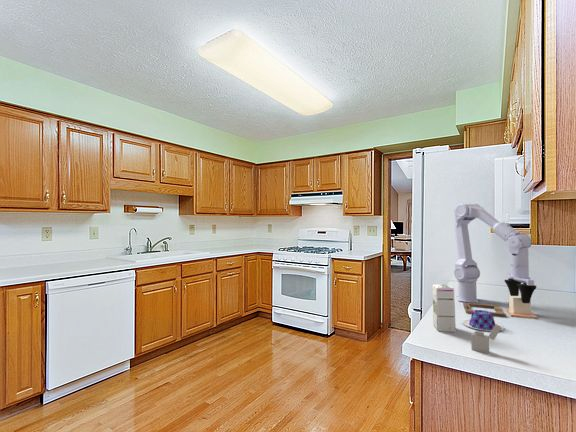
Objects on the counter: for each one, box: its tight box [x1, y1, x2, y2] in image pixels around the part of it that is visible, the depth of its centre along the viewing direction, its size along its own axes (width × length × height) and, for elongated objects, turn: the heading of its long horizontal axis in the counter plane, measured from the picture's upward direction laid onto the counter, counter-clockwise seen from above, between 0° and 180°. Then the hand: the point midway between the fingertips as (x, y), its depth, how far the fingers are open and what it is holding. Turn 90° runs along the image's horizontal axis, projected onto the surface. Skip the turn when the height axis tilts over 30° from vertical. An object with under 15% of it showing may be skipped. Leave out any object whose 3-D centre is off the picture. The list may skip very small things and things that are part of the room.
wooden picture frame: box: [462, 302, 507, 318], centre depth 127 cm, size 14×13×2 cm
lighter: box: [470, 323, 502, 354], centre depth 87 cm, size 7×2×8 cm, turn 55°
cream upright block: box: [508, 295, 532, 314], centre depth 122 cm, size 3×6×6 cm, turn 81°
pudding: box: [462, 309, 504, 332], centre depth 109 cm, size 12×12×5 cm
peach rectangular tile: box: [504, 307, 538, 320], centre depth 122 cm, size 10×8×1 cm
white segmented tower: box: [432, 283, 457, 333], centre depth 106 cm, size 6×6×14 cm
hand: (520, 300), depth 122 cm, fingers open, 7 cm apart
